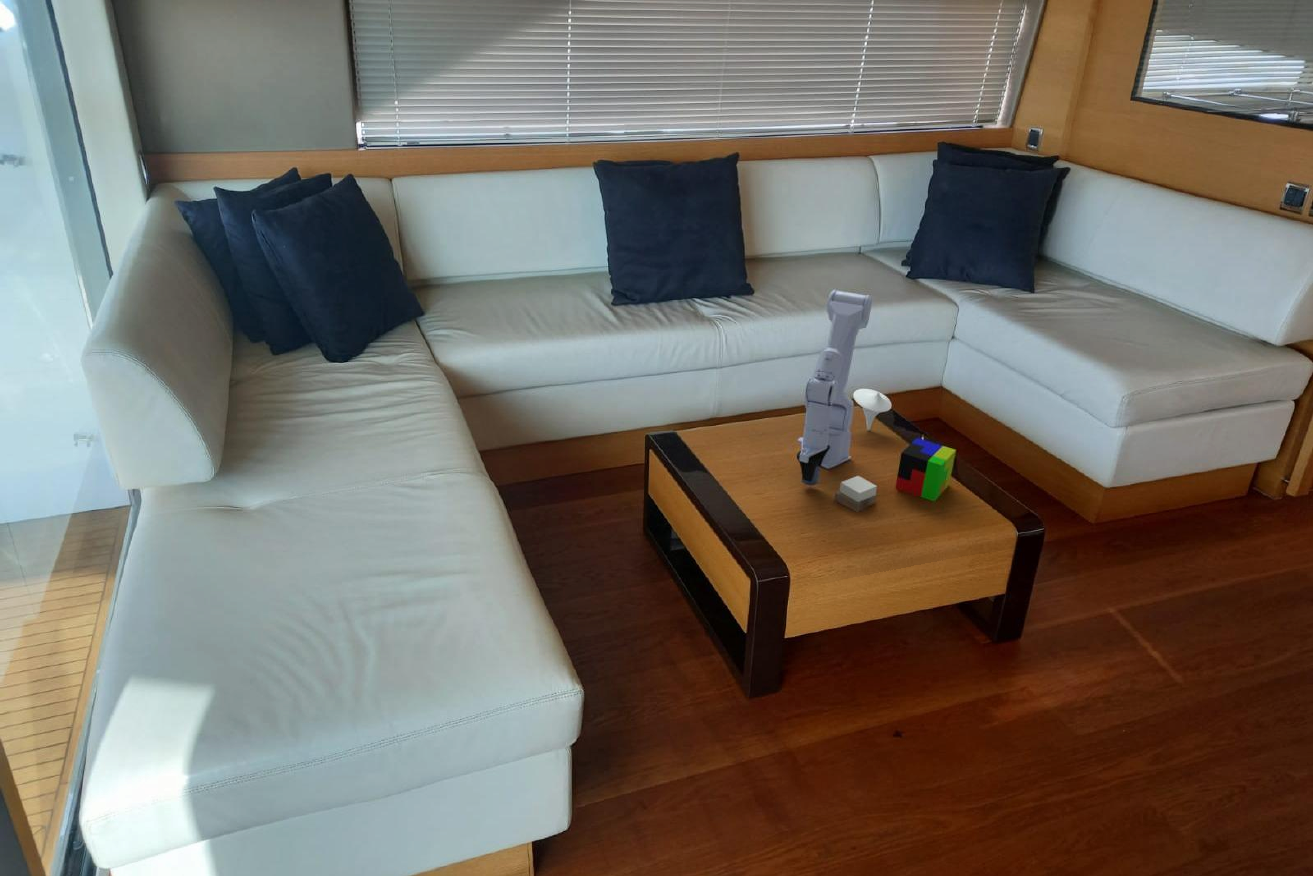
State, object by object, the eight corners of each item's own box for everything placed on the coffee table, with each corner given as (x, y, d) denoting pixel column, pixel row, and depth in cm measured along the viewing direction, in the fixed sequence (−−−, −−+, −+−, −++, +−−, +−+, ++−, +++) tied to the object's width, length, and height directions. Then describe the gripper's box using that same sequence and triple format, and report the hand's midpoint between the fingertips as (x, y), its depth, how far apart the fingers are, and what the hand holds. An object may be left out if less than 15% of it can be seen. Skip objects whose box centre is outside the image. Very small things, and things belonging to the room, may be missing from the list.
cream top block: (856, 484, 227) (858, 475, 225) (875, 495, 222) (876, 486, 221) (839, 491, 223) (840, 482, 222) (858, 502, 219) (859, 493, 218)
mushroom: (894, 431, 258) (901, 391, 253) (872, 442, 252) (878, 401, 246) (864, 418, 265) (869, 379, 260) (840, 429, 258) (846, 389, 253)
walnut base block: (852, 492, 228) (853, 483, 227) (875, 504, 223) (876, 495, 222) (833, 501, 224) (835, 492, 223) (857, 513, 219) (858, 504, 218)
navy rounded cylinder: (808, 475, 230) (810, 461, 228) (821, 482, 227) (823, 467, 226) (798, 480, 228) (799, 466, 226) (810, 487, 225) (812, 472, 223)
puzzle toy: (910, 473, 237) (916, 438, 233) (948, 485, 232) (956, 449, 228) (895, 488, 230) (901, 452, 225) (934, 501, 225) (941, 465, 220)
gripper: (811, 411, 228) (805, 459, 234) (789, 433, 217) (784, 484, 223) (839, 417, 225) (832, 467, 231) (818, 441, 214) (812, 492, 220)
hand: (810, 476), depth 227 cm, fingers closed on navy rounded cylinder, 4 cm apart
